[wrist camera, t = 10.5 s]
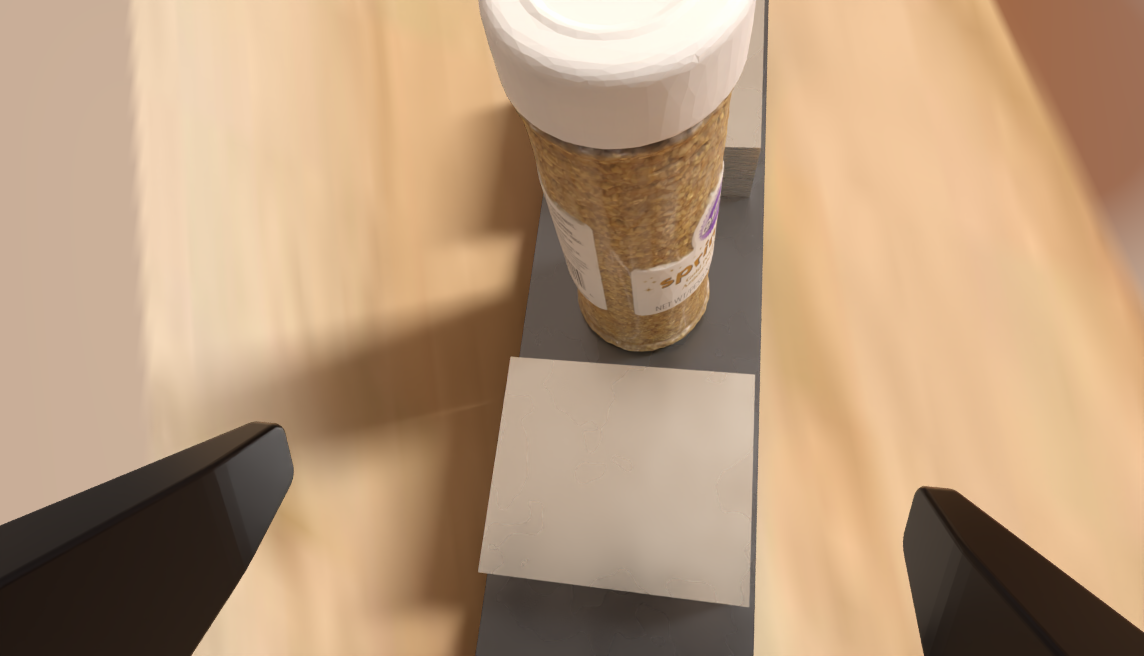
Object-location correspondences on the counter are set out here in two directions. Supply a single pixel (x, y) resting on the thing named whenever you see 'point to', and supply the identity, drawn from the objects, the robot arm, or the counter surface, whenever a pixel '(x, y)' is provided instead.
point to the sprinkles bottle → (627, 145)
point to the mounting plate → (696, 351)
